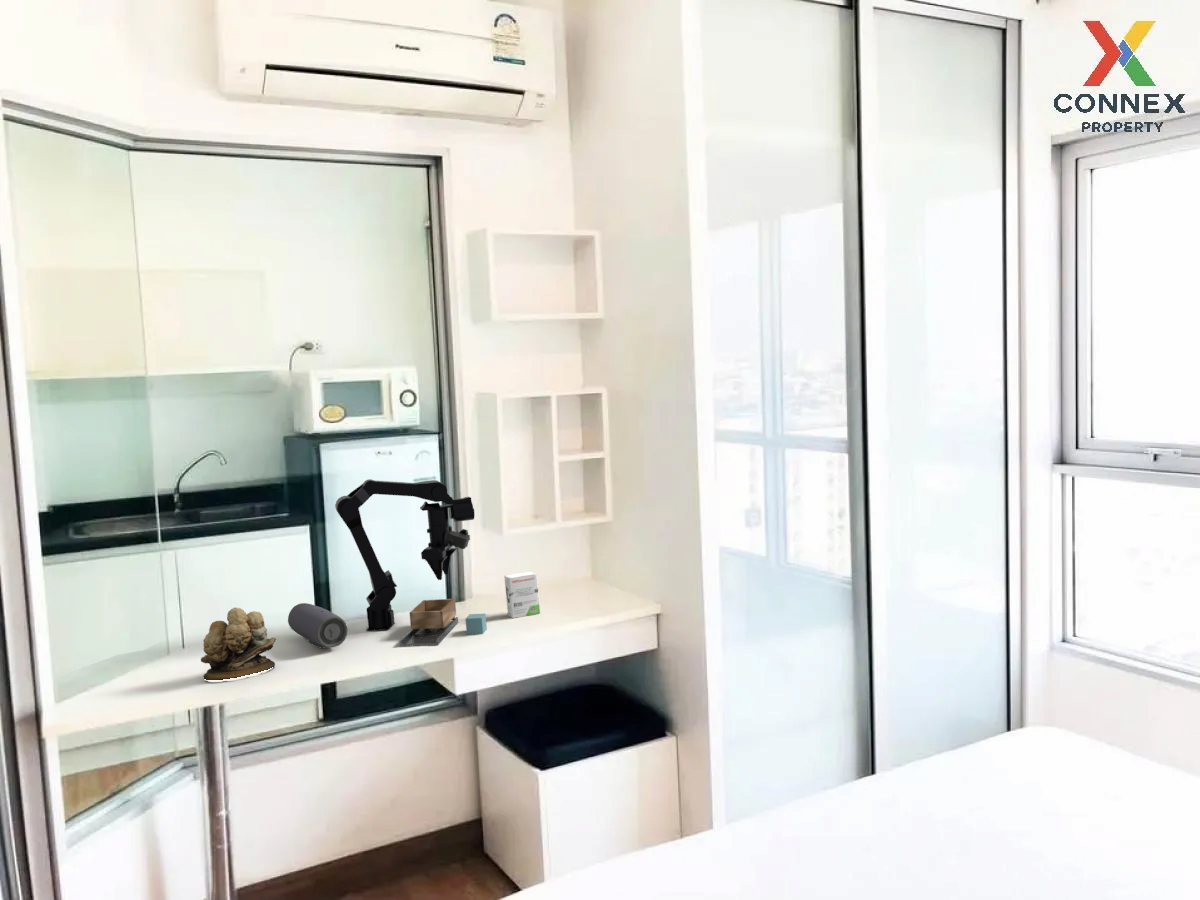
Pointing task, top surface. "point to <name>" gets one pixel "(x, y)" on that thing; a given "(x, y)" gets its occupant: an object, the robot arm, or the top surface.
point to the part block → (476, 624)
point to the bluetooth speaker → (317, 625)
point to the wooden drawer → (432, 614)
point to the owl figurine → (237, 646)
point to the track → (427, 635)
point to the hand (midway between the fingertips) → (443, 576)
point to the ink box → (522, 594)
